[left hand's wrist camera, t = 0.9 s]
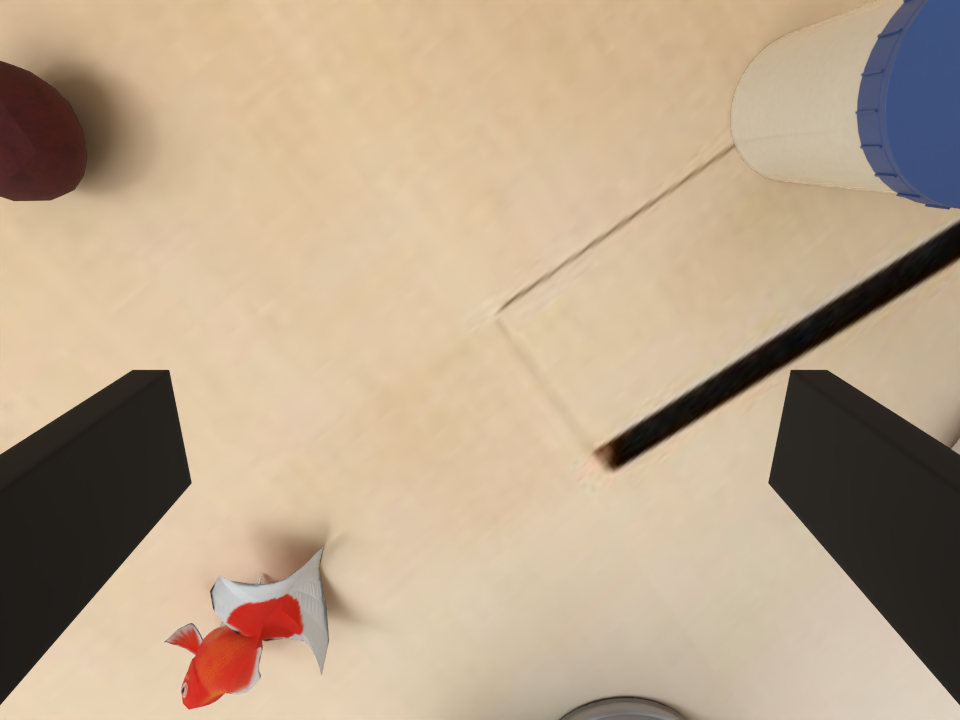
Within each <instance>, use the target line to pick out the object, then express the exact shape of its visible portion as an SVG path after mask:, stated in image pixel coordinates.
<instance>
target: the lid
mask: <svg viewBox="0 0 960 720" xmlns="http://www.w3.org/2000/svg"><path fill="white" fill-rule="evenodd" d="M903 2H904V3H903V4H902V5H901V7H900V8H899V9H898V10H897V11H896V13H895V14H894V15H893V16H892V18H891V19H890V20H889V22H888V23H887V25H886V26H885V28H884V29H883V31H882V32H881V34H878V36H877V37H878V39H877V41H876V43H875V45H874V47H873V49H872V50H871V53H870V56H869V58H868V61H867V63H866V66H865V68H864V72H863V73H861V76H862V79H861V83H860V87H859V94H858V100H857V111H856V112H855V114H857V125H858V134H859V138H860V142H861V146H860V149H863V152H864V154H865V157H866V159H867V161H868V163H869V164H870V166H871V168H872V169H873V171H874V172H875V173H876V174H875V175H874V176H875V177H879V178H880V179H881V181H882V182H883V183H885V184H886V185H887V186H888V187H889V188H890V189H892V190H893V191H895V192H896V193H898V194H897V196H900V197H905V198H908V199H910V200H912V201H915V202H919V203H923V204H926V205H925V206H927V207H935V208H942V209H950V208H958V209H960V0H903Z"/></svg>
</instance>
